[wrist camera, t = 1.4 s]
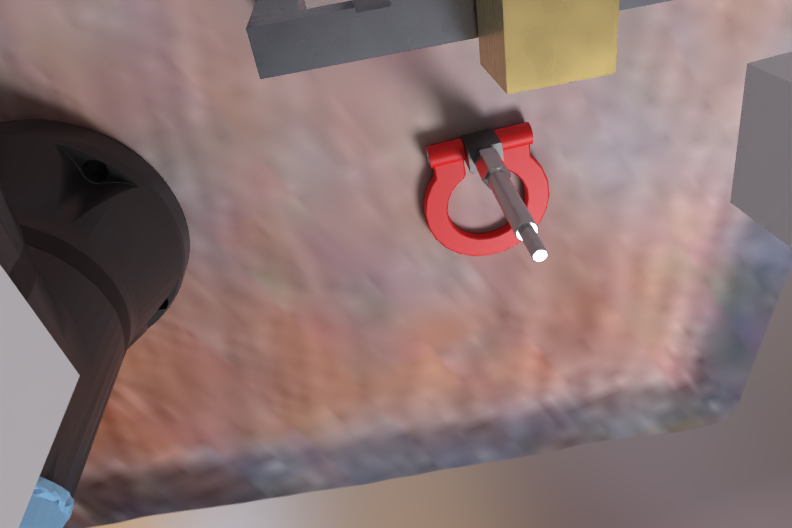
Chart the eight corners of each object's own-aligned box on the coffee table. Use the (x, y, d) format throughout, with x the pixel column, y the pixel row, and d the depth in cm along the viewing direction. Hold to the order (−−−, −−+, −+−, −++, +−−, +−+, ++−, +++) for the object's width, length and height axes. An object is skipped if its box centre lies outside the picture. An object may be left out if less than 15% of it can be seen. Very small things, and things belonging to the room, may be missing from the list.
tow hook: (546, 231, 44) (539, 112, 38) (622, 358, 33) (628, 220, 28) (433, 258, 44) (410, 144, 38) (474, 393, 34) (450, 263, 28)
